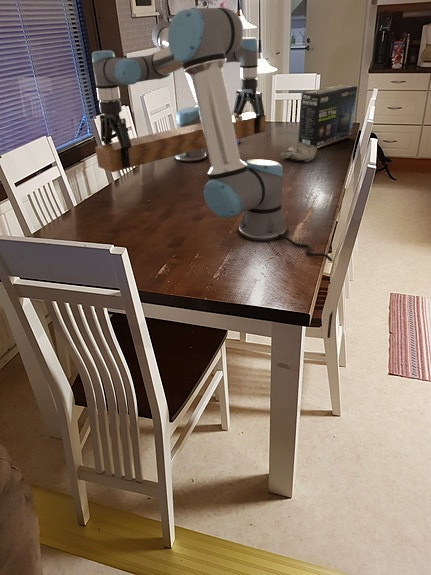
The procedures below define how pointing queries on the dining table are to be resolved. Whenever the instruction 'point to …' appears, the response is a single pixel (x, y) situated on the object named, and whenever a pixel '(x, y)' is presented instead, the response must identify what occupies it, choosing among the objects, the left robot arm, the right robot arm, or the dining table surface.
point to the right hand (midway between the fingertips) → (118, 164)
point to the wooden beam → (169, 143)
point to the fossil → (300, 152)
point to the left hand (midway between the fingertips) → (248, 131)
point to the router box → (326, 114)
